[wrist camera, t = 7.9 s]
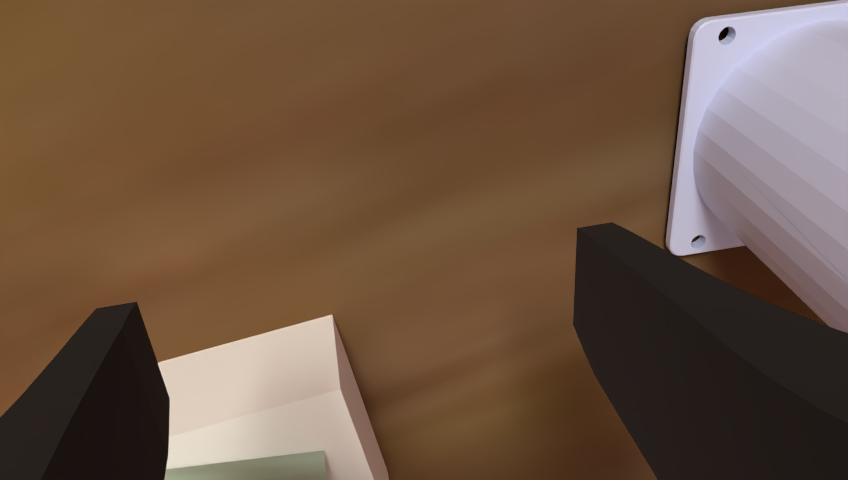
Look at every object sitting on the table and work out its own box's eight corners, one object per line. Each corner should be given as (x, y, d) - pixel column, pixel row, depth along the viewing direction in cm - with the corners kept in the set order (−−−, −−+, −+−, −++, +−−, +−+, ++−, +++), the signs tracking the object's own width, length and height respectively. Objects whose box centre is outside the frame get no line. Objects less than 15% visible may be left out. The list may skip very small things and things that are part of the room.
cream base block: (331, 308, 25) (340, 389, 22) (386, 465, 30) (401, 552, 26) (98, 372, 25) (71, 464, 22) (188, 520, 29) (177, 616, 26)
